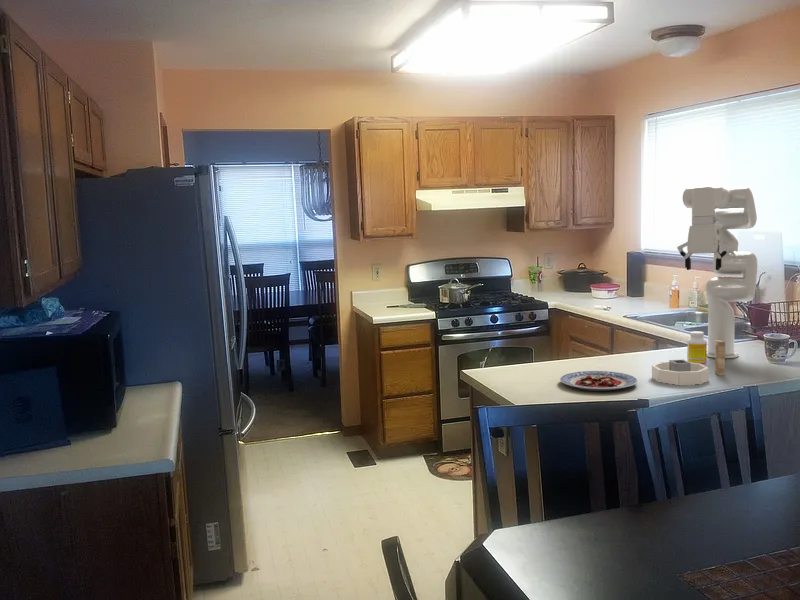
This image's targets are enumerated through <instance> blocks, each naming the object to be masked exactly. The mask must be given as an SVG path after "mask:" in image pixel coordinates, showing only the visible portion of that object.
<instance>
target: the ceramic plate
mask: <svg viewBox="0 0 800 600" xmlns="http://www.w3.org/2000/svg"><path fill="white" fill-rule="evenodd" d="M559 381H560V382H561V383H563V384H564V385H567V386H570V387H574V388H578V389H581V390H585V391H597V392H603V391H605V392H606V391H607V392H608V391H617V390H621V389H625V388H629V387H632V386H634V385H636V384H637V383H639V380H638V378H637V377H636V376H634V375H631V374H628V373H624V372H619V371H618V372H616V371H608V370H585V371H575V372H570V373H567V374H563V375H562V376H561V377H560V378H559Z"/></svg>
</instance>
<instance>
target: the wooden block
mask: <svg viewBox="0 0 800 600" xmlns="http://www.w3.org/2000/svg"><path fill="white" fill-rule="evenodd" d="M714 360H715V361H714V371H715V372H714V373H715V375H716V376H725V375H726V374H725V373H726V370H725V368H726V362H725V361H726V358H725V342H724V341H721V340H718V341H715V358H714Z"/></svg>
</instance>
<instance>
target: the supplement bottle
mask: <svg viewBox="0 0 800 600" xmlns="http://www.w3.org/2000/svg"><path fill="white" fill-rule="evenodd" d="M689 335H690V338H688V339H687V352H686V353H687V360H686V361H687V362H691V363H699V364H702V365H704V366H706V367H707V359H708V358H707V351H708V341H707V340H706V339H705V338H704V335H705V332H704V331H700V330H699V331H697V330H696V331H695V330H694V331H690V334H689Z"/></svg>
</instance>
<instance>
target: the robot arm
mask: <svg viewBox="0 0 800 600" xmlns="http://www.w3.org/2000/svg"><path fill="white" fill-rule="evenodd" d="M682 204H684V205H683V206H685V207H686V208H689V209H691V225H689V228H688V235H687V241H686V242H684V243H682V244H681V245H678V246H676V248H677V251H678V253H679V254H680V255H681V256H682V257H683V259H684V260H685V262H684V266H685V267H684V268H686V271H689V270H691V269H692V259H691V256H692V255H695V254H700V255H701V254H713V258H712V271H713V273H714V274H715V275H717V276H716V277H711V278H710V279H708V280H707V281H706V284H705V293H706V299H707V316H708V317H707V357H708V358H712V359H713V358H714V359H715V341H718V340H721V341H724V342H725V359H735V358H738V357H739V352H737V351H735V324H736V323H735V321H736V320H735V317H736V315H735V311H734V308H733V307H732V306H731V304H730V303H729V302H739V303H741V302H742V303H744V302H747V303H748V302H751V301H752V300H753V299H754V298H755V294H756V289H757V288H756V286H757V277H758V276H757V274H758V258H757V256H756V255H755V253H753V252H751V251H739V241H738V240H739V239H737V238H736V237H735V235H734V234H733V233H731V231H729V230H741V229H742V230H744V229H745V230H746V229H752V228H753V227H755V225H756V224H757V221H758V220H757V218H758V217H757V216H758V215H757V209H756V204H755V199H754V195H753V192H752V190H751V189H750V188H749V187H747V186H734V187H733V186H732V187H731V186H729V187H723V186H721V185H704V186H703V185H702V186H701V185H700V186H690V187H686V188H685V190H684V191H683V193H682ZM684 248H686V249H687V253H686V252H685V251H684Z"/></svg>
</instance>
